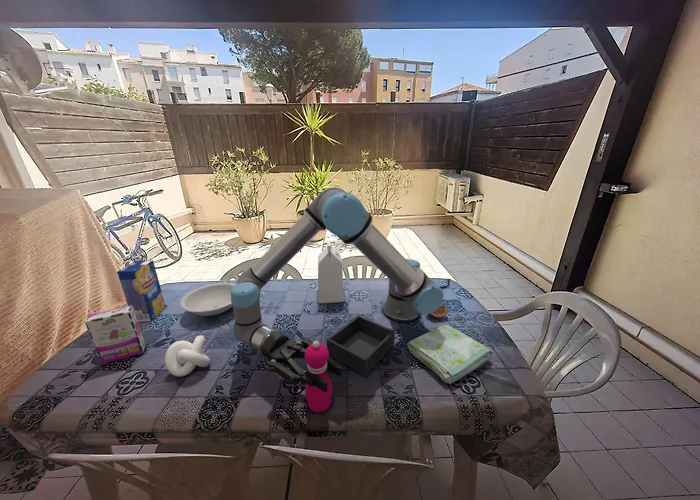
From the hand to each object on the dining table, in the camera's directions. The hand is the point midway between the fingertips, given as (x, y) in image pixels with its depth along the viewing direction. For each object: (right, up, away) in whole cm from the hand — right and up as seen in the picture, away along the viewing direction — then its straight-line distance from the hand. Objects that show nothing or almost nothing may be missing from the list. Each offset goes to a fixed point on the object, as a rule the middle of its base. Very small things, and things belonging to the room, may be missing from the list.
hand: (333, 379), depth 66 cm
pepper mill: (-4, -9, +7) cm, 12 cm away
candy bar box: (-72, -3, +25) cm, 76 cm away
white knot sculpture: (-46, -5, +20) cm, 50 cm away
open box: (+8, -2, +26) cm, 28 cm away
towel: (+36, -4, +23) cm, 43 cm away
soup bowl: (-54, +6, +50) cm, 74 cm away
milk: (-5, +10, +61) cm, 62 cm away
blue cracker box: (-80, +5, +47) cm, 93 cm away
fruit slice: (+39, +4, +45) cm, 60 cm away
